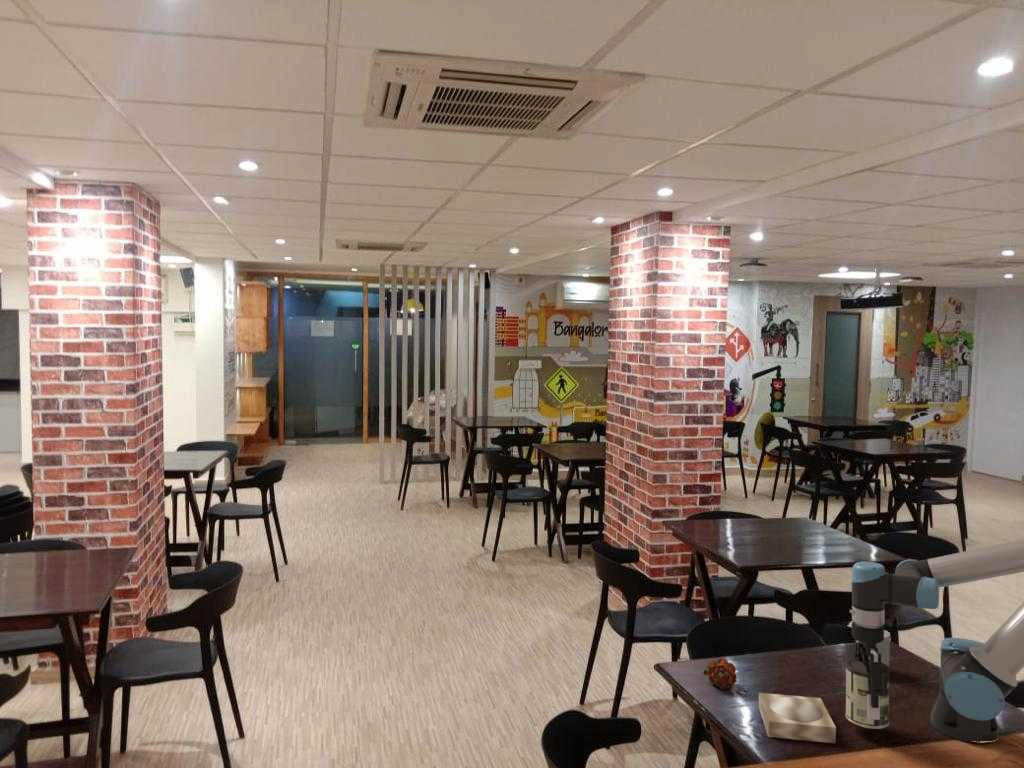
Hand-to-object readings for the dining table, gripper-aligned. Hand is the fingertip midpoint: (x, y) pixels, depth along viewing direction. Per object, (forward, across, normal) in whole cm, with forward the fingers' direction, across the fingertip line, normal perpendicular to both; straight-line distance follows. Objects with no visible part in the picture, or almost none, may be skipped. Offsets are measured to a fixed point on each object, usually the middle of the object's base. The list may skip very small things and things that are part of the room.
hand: (866, 708), depth 189 cm
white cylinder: (+6, -39, +12) cm, 42 cm away
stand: (+6, 0, -18) cm, 18 cm away
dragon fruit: (+5, -20, -34) cm, 40 cm away
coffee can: (+3, 0, 0) cm, 3 cm away
